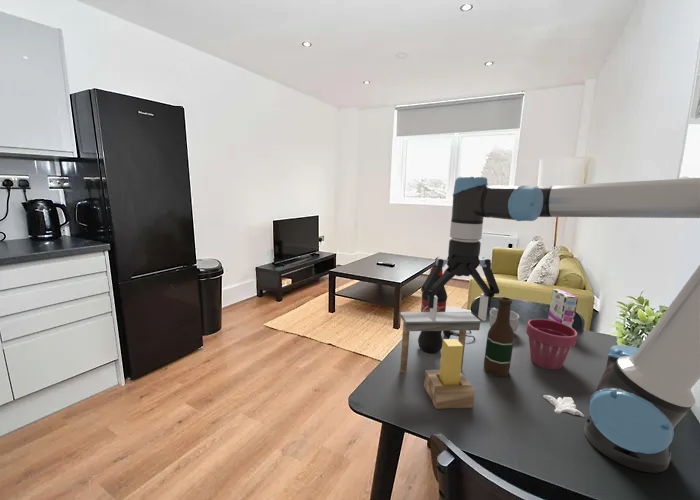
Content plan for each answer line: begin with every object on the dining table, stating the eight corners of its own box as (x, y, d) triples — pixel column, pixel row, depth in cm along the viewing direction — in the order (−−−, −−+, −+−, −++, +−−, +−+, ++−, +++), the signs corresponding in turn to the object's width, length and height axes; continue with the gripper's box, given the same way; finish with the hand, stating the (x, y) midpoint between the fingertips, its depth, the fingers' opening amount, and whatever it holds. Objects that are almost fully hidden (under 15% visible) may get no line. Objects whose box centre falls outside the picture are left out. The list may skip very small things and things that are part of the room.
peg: (457, 400, 91) (463, 345, 88) (443, 401, 90) (448, 346, 87) (451, 391, 95) (456, 339, 92) (437, 391, 94) (442, 339, 91)
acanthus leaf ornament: (542, 398, 94) (543, 392, 93) (568, 401, 93) (569, 394, 93) (556, 416, 86) (558, 410, 86) (584, 419, 86) (585, 412, 86)
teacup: (521, 338, 130) (524, 319, 128) (493, 337, 130) (496, 318, 128) (506, 323, 143) (508, 306, 142) (480, 322, 144) (482, 305, 142)
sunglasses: (439, 328, 137) (442, 317, 136) (468, 334, 136) (471, 323, 135) (444, 340, 126) (447, 328, 125) (475, 346, 126) (479, 334, 125)
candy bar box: (572, 337, 133) (578, 297, 129) (558, 336, 133) (565, 296, 130) (558, 325, 144) (564, 289, 140) (546, 324, 144) (552, 288, 141)
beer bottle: (512, 378, 102) (523, 304, 97) (485, 375, 103) (494, 301, 99) (506, 365, 109) (515, 295, 105) (481, 362, 111) (489, 293, 106)
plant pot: (579, 367, 110) (586, 330, 108) (557, 378, 103) (563, 340, 100) (536, 348, 122) (541, 315, 120) (513, 357, 115) (518, 322, 112)
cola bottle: (412, 346, 120) (418, 265, 115) (432, 342, 124) (439, 263, 118) (427, 357, 113) (434, 271, 107) (447, 353, 116) (455, 269, 110)
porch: (494, 406, 89) (503, 340, 85) (413, 409, 86) (419, 341, 83) (463, 367, 107) (469, 311, 104) (396, 369, 105) (400, 312, 101)
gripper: (503, 237, 89) (494, 313, 93) (412, 236, 86) (407, 314, 90) (520, 242, 82) (510, 324, 86) (421, 241, 79) (415, 325, 83)
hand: (457, 319), depth 88 cm, fingers open, 13 cm apart
